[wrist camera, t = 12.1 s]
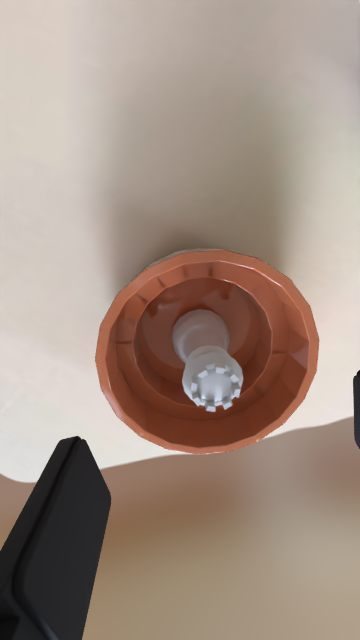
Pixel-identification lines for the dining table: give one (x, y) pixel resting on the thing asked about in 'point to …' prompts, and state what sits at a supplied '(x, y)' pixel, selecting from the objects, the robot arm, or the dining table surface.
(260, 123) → the dining table surface
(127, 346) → the terracotta bowl
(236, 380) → the rook chess piece
